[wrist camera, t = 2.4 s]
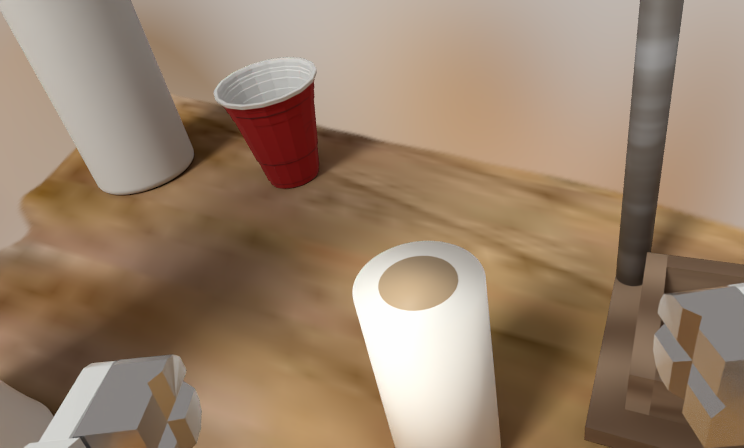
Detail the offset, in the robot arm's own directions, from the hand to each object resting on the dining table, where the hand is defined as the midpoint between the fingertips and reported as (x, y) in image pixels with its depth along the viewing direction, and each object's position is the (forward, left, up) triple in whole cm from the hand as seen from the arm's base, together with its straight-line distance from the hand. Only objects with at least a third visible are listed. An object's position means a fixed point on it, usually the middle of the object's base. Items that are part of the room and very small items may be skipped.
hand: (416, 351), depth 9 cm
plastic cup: (+37, +34, -22) cm, 55 cm away
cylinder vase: (+35, +56, -22) cm, 69 cm away
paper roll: (+11, +6, -22) cm, 25 cm away
